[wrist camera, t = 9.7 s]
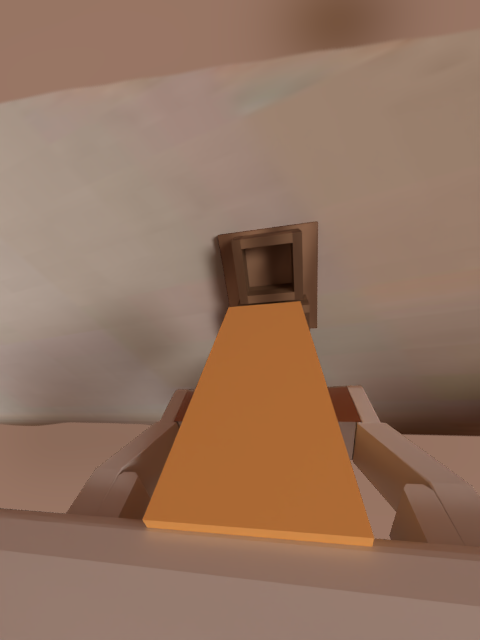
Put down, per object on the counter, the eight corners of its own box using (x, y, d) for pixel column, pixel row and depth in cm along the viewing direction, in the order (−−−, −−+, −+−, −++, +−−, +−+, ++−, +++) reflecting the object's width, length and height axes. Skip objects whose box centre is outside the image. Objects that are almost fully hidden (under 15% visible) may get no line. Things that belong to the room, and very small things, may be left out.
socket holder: (316, 221, 27) (324, 224, 23) (315, 324, 34) (321, 341, 30) (219, 234, 29) (211, 239, 25) (235, 329, 36) (230, 345, 32)
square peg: (300, 301, 12) (374, 538, 4) (302, 361, 14) (354, 621, 5) (228, 307, 13) (142, 519, 4) (238, 363, 15) (191, 599, 6)
